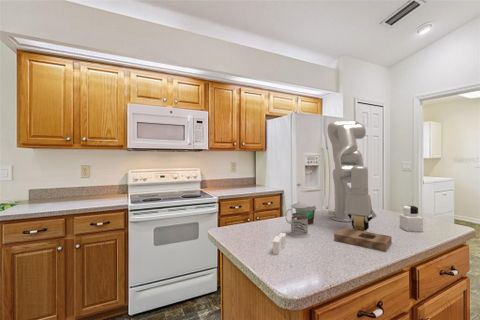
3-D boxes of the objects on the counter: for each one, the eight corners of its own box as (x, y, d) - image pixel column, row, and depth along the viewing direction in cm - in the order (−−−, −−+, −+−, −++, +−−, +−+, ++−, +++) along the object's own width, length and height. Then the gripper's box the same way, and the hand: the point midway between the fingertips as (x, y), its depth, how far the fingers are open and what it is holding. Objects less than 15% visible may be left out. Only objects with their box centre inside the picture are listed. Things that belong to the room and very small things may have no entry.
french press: (311, 238, 109) (310, 184, 109) (285, 236, 112) (284, 184, 112) (309, 231, 119) (308, 182, 119) (285, 230, 121) (285, 182, 121)
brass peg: (353, 233, 115) (353, 215, 115) (356, 231, 118) (356, 213, 118) (364, 235, 112) (363, 216, 112) (366, 233, 115) (366, 214, 115)
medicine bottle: (413, 227, 123) (413, 204, 123) (423, 232, 116) (422, 207, 116) (399, 227, 123) (399, 204, 123) (407, 231, 116) (407, 207, 116)
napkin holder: (276, 259, 88) (276, 243, 88) (258, 249, 98) (258, 235, 98) (304, 250, 96) (304, 236, 96) (284, 242, 106) (284, 229, 106)
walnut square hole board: (334, 240, 106) (334, 233, 106) (343, 233, 114) (343, 227, 114) (385, 251, 92) (385, 243, 92) (391, 243, 101) (391, 236, 101)
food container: (293, 224, 133) (293, 206, 133) (294, 221, 139) (294, 204, 139) (316, 225, 130) (316, 207, 130) (316, 222, 135) (316, 205, 135)
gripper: (339, 191, 118) (339, 227, 118) (377, 194, 107) (378, 234, 107) (344, 189, 123) (344, 224, 123) (381, 192, 112) (381, 230, 112)
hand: (360, 228), depth 115 cm, fingers closed on brass peg, 4 cm apart
